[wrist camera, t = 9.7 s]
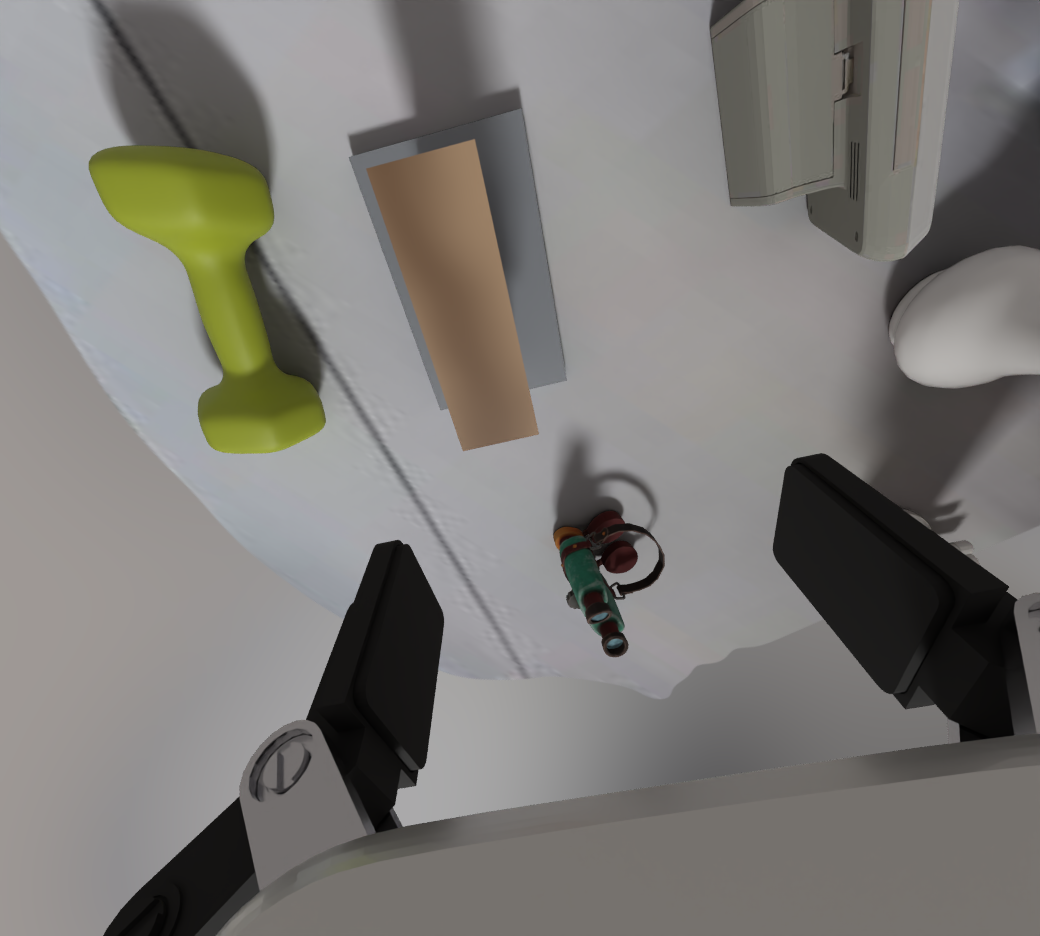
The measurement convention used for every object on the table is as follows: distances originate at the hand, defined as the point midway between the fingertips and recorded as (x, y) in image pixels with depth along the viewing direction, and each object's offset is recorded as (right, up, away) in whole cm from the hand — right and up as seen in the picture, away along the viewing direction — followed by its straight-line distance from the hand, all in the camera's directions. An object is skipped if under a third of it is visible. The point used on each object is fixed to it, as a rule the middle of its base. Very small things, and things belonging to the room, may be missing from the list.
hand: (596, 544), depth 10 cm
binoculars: (+6, -5, +31) cm, 32 cm away
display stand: (-5, +15, +17) cm, 23 cm away
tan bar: (-5, +11, +11) cm, 16 cm away
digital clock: (+14, +24, +13) cm, 30 cm away
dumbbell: (-20, +13, +18) cm, 29 cm away
